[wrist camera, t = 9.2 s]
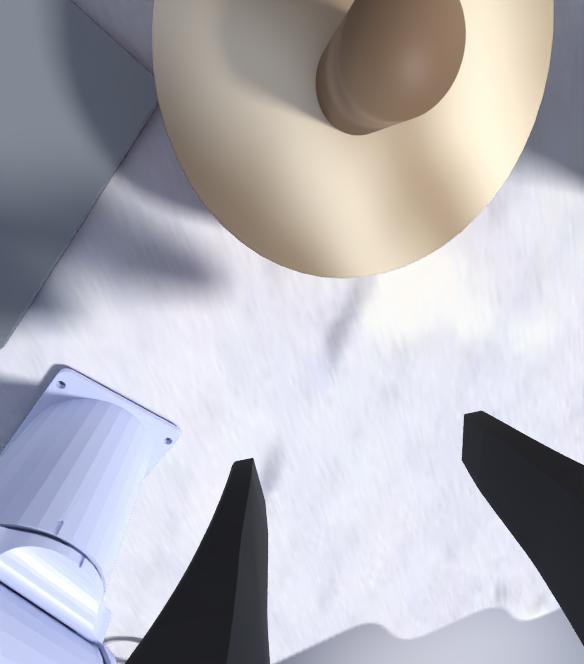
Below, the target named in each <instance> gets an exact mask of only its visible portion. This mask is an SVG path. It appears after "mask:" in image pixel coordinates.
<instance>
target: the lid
mask: <svg viewBox="0 0 584 664" xmlns="http://www.w3.org/2000/svg"><path fill="white" fill-rule="evenodd" d="M553 18H554V0H154V4H153V19H152V55H153V71H154V77H155V84H156V90H157V96H158V102H159V106H160V110H161V113H162V117H163V121H164V124H165V128H166V132H167V134H168V137H169V139H170V142H171V144H172V147H173V149H174V152H175V154H176V157H177V160H178V162H179V163H180V165H181V167H182V169H183V171H184V173H185V175H186V177H187V178H188V180H189V182H190V184H191V186H192V187H193V189H194V190H195V192H196V193H197V194H198V196H199V197H200V199H201V200H202V202H203V203H204V205H205V206H206V207H207V209H208V210H209V211H210V212H211V213H212V214H213V215H214V216H215V218H216V219H217V220H218V221H219V222H220V223H221V224H222V225H223V227H225V228H226V229H227V230H228V231H229V232H230V233H231V234H233V235H234V236H235V237H236V238H237V239H238V240H239V241H240V242H242V243H243V244H245V245H246V246H247V247H249V248H250V249H252V250H253V251H255V252H256V253H258V254H259V255H261V256H263V257H265V258H267V259H269V260H271V261H273V262H275V263H277V264H279V265H281V266H283V267H286V268H289V269H292V270H295V271H298V272H301V273H305V274H310V275H315V276H320V277H330V278H357V277H367V276H372V275H377V274H382V273H386V272H389V271H392V270H395V269H399V268H402V267H405V266H407V265H409V264H411V263H413V262H415V261H418V260H420V259H422V258H424V257H426V256H427V255H429V254H431V253H432V252H434V251H435V250H437V249H439V248H440V247H442V246H444V245H445V244H446V243H447V242H449V241H450V240H451V239H453V238H454V237H455V236H456V235H458V234H459V233H460V232H462V231H463V230H464V229H465V228H466V227H467V226H468V225H469V224H470V223H471V222H472V221H473V220H474V219H475V218H476V217H477V216H478V215H479V214H480V213H481V212H482V210H483V209H484V208H485V207H486V206H487V205H488V203H489V202H490V201H491V200H492V199H493V197H494V196H495V195H496V193H497V192H498V191H499V189H500V188H501V186H502V185H503V183H504V182H505V180H506V179H507V177H508V176H509V174H510V173H511V171H512V169H513V167H514V165H515V164H516V162H517V160H518V158H519V156H520V154H521V153H522V151H523V149H524V146H525V144H526V142H527V139H528V137H529V135H530V132H531V130H532V128H533V125H534V123H535V120H536V116H537V113H538V110H539V107H540V104H541V101H542V98H543V94H544V89H545V85H546V80H547V75H548V71H549V66H550V58H551V49H552V41H553Z"/></svg>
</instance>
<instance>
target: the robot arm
mask: <svg viewBox="0 0 584 664" xmlns="http://www.w3.org/2000/svg"><path fill="white" fill-rule="evenodd" d="M59 381H62V382H64V383H65V385H62V384H60V382H59ZM180 437H181V430H180V428H178V427H177V426H175V425H173V424H171V423H169V422H167V421H166V420H164V419H162V418H160V417H158V416H156V415H155V414H153V413H151V412H149V411H147V410H145V409H144V408H142V407H140V406H138V405H136V404H134V403H133V402H131V401H129V400H127V399H125V398H123V397H121V396H120V395H118V394H116V393H114V392H112V391H110V390H109V389H107V388H105V387H103V386H101V385H99V384H98V383H96V382H94V381H92V380H90V379H88V378H87V377H85V376H83V375H81V374H79V373H77V372H76V371H74V370H72V369H69V368H64V369H61V370H60V371H59V372H58V373H57V374H56V376H55V377H54V379H53V380H52V381H51V383H50V384H49V386H48V387H47V389H46V390H45V391H44V393H43V394H42V396H41V397H40V398H39V400H38V401H37V403H36V404H35V406H34V407H33V408H32V410H31V411H30V413H29V414H28V416H27V417H26V418H25V420H24V421H23V423H22V424H21V425H20V427H19V428H18V430H17V431H16V433H15V434H14V435H13V437H12V438H11V440H10V441H9V443H8V444H7V445H6V447H5V448H4V450H3V451H2V452H1V454H0V664H117V662H116V659H115V657H114V655H113V654H112V652H111V650H110V649H109V648H108V647H106V646H105V645H104V644H103V641H104V638H105V635H106V631H107V628H108V625H109V622H110V618H111V615H112V612H111V611H110V610H109V609H108V608H107V607H106V606H105V604H104V601H103V596H104V593H105V591H106V588H107V585H108V582H109V579H110V576H111V573H112V570H113V567H114V564H115V561H116V558H117V555H118V553H119V550H120V547H121V544H122V541H123V538H124V535H125V532H126V529H127V526H128V523H129V520H130V517H131V515H132V512H133V509H134V506H135V503H136V500H137V497H138V494H139V491H140V488H141V485H142V482H143V480H144V479H145V478H146V477H147V476H148V474H149V473H150V472H151V471H152V470H153V469H154V468H155V466H156V465H157V464H158V463H159V462H160V461H161V460H162V458H163V457H164V456H165V455H166V454H167V453H168V452H169V450H170V449H171V448H172V447H173V446H174V445H175V444H176V442H177V441H178V440H179V439H180ZM166 438H171V439H172V440H167V439H166ZM462 461H463V463H464V465H465V467H466V468H467V470H468V472H469V474H470V476H471V477H472V479H473V481H474V482H475V484H476V486H477V487H478V489H479V490H480V492H481V493H482V495H483V496H484V497H485V499H486V500H487V501H488V503H489V504H490V505H491V507H492V508H493V510H494V511H495V512H496V514H497V515H498V516H499V518H500V519H501V520H502V522H503V523H504V524H505V526H506V527H507V528H508V530H509V531H510V532H511V534H512V535H513V536H514V538H515V539H516V540H517V542H518V543H519V544H520V546H521V547H522V548H523V550H524V551H525V552H526V554H527V555H528V557H529V558H530V559H531V561H532V562H533V564H534V565H535V567H536V568H537V570H538V571H539V573H540V574H541V576H542V578H543V579H544V581H545V582H546V584H547V586H548V587H549V589H550V590H551V592H552V594H553V595H554V597H555V599H556V600H557V602H558V603H559V605H560V607H561V608H562V610H563V612H564V613H565V615H566V617H567V618H568V620H569V622H570V623H571V625H572V627H573V629H574V630H575V632H576V634H577V635H578V637H579V639H580V640H581V642H582V644H583V646H584V465H582V464H580V463H578V462H576V461H574V460H572V459H570V458H568V457H566V456H564V455H562V454H560V453H558V452H556V451H554V450H553V449H551V448H549V447H547V446H545V445H543V444H541V443H539V442H538V441H536V440H534V439H532V438H530V437H528V436H527V435H525V434H523V433H521V432H519V431H518V430H516V429H514V428H512V427H511V426H509V425H507V424H505V423H503V422H502V421H500V420H498V419H496V418H494V417H493V416H491V415H489V414H487V413H485V412H483V411H478V412H473V413H468V414H464V427H463V447H462ZM267 588H268V527H267V516H266V505H265V499H264V495H263V492H262V488H261V485H260V481H259V477H258V474H257V470H256V466H255V463H254V459H253V458H250V459H245V460H240V461H236V462H234V464H233V465H232V468H231V471H230V474H229V477H228V480H227V483H226V486H225V488H224V491H223V494H222V496H221V499H220V501H219V504H218V506H217V508H216V511H215V513H214V515H213V518H212V520H211V522H210V525H209V527H208V529H207V531H206V533H205V535H204V537H203V539H202V541H201V543H200V545H199V547H198V549H197V551H196V553H195V555H194V557H193V559H192V561H191V563H190V565H189V566H188V568H187V570H186V572H185V573H184V575H183V577H182V579H181V580H180V582H179V584H178V586H177V587H176V589H175V591H174V592H173V594H172V595H171V597H170V599H169V600H168V602H167V603H166V605H165V606H164V608H163V610H162V611H161V613H160V614H159V616H158V617H157V619H156V620H155V622H154V623H153V625H152V626H151V628H150V629H149V631H148V632H147V633H146V635H145V636H144V638H143V639H142V640H141V642H140V643H139V645H138V646H137V647H136V649H135V650H134V652H133V653H132V654H131V656H130V657H129V659H128V660H127V661H126V663H125V664H270V657H269V642H268V623H267Z"/></svg>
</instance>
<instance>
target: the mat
mask: <svg viewBox="0 0 584 664" xmlns="http://www.w3.org/2000/svg"><path fill="white" fill-rule="evenodd" d="M158 104H159V102H158V96H157V90H156V84H155V77H154V76H153V75H152V74H151V73H150V72H149V71H148V70H147V69H145V68H144V67H143V66H142V65H141V64H140V63H139V62H138V61H137V60H136V59H135V58H133V57H132V56H131V55H130V54H129V53H128V52H127V51H126V50H125V49H124V48H122V47H121V46H120V45H119V44H118V43H117V42H116V41H115V40H114V39H113V38H111V37H110V36H109V35H108V34H107V33H106V32H105V31H104V30H103V29H102V28H100V27H99V26H98V25H97V24H96V23H95V22H94V21H93V20H92V19H91V18H90V17H88V16H87V15H86V14H85V13H84V12H83V11H82V10H81V9H80V8H79V7H77V6H76V5H75V4H74V3H73V2H72V1H71V0H0V349H1V348H3V347H4V346H5V344H6V343H7V341H8V339H9V338H10V336H11V335H12V333H13V332H14V330H15V328H16V327H17V325H18V324H19V322H20V321H21V319H22V317H23V316H24V314H25V313H26V311H27V310H28V308H29V306H30V305H31V303H32V302H33V300H34V299H35V297H36V295H37V294H38V292H39V291H40V289H41V288H42V286H43V284H44V283H45V281H46V280H47V278H48V277H49V275H50V273H51V272H52V270H53V269H54V267H55V266H56V264H57V262H58V261H59V259H60V258H61V256H62V255H63V253H64V251H65V250H66V248H67V247H68V245H69V244H70V242H71V240H72V239H73V237H74V236H75V234H76V233H77V231H78V229H79V228H80V226H81V225H82V223H83V222H84V220H85V218H86V217H87V215H88V214H89V212H90V211H91V209H92V207H93V206H94V204H95V203H96V201H97V200H98V198H99V196H100V195H101V193H102V192H103V190H104V189H105V187H106V185H107V184H108V182H109V181H110V179H111V178H112V176H113V174H114V173H115V171H116V170H117V168H118V167H119V165H120V163H121V162H122V160H123V159H124V157H125V156H126V154H127V152H128V151H129V149H130V148H131V146H132V145H133V143H134V141H135V140H136V138H137V137H138V135H139V134H140V132H141V130H142V129H143V127H144V126H145V124H146V123H147V121H148V119H149V118H150V116H151V115H152V113H153V112H154V110H155V108H156V107H157V105H158Z"/></svg>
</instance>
